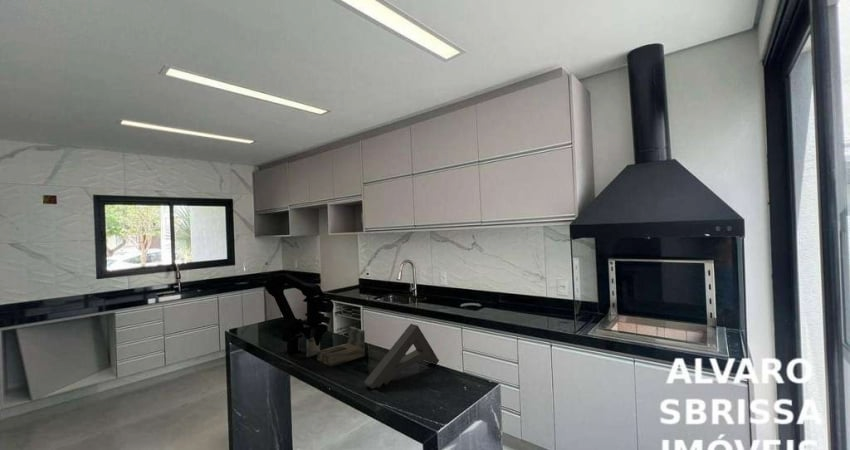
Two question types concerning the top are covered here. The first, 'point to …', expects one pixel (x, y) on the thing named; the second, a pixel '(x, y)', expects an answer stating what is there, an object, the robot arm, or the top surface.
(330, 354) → the post base
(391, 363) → the wall bracket
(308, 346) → the bracket plate
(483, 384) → the top surface
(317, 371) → the top surface
